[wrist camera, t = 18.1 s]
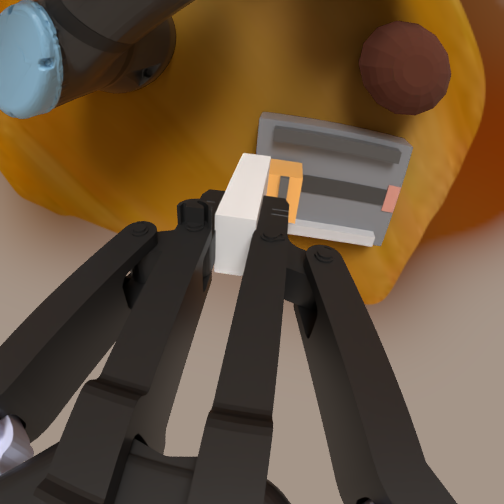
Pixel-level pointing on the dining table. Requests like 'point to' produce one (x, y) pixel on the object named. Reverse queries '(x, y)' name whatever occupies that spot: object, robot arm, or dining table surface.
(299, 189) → the breaker toggle
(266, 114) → the breaker panel
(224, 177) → the dining table surface
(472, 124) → the dining table surface
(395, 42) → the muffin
